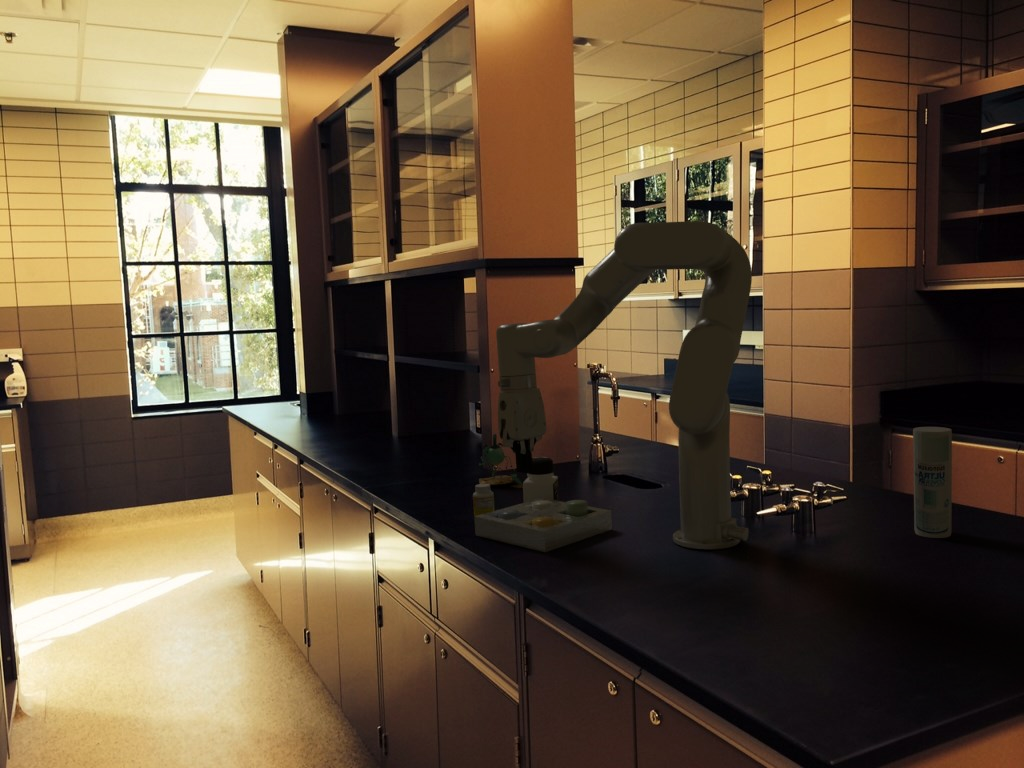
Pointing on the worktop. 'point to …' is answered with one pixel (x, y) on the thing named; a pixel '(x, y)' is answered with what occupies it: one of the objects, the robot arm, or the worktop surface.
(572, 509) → the sage button
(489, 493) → the supplement bottle
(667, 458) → the worktop surface
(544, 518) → the amber rounded lump
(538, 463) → the medicine bottle
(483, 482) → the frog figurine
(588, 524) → the panel
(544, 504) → the ivory button
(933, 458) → the spray can
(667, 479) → the worktop surface
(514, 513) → the slate button
